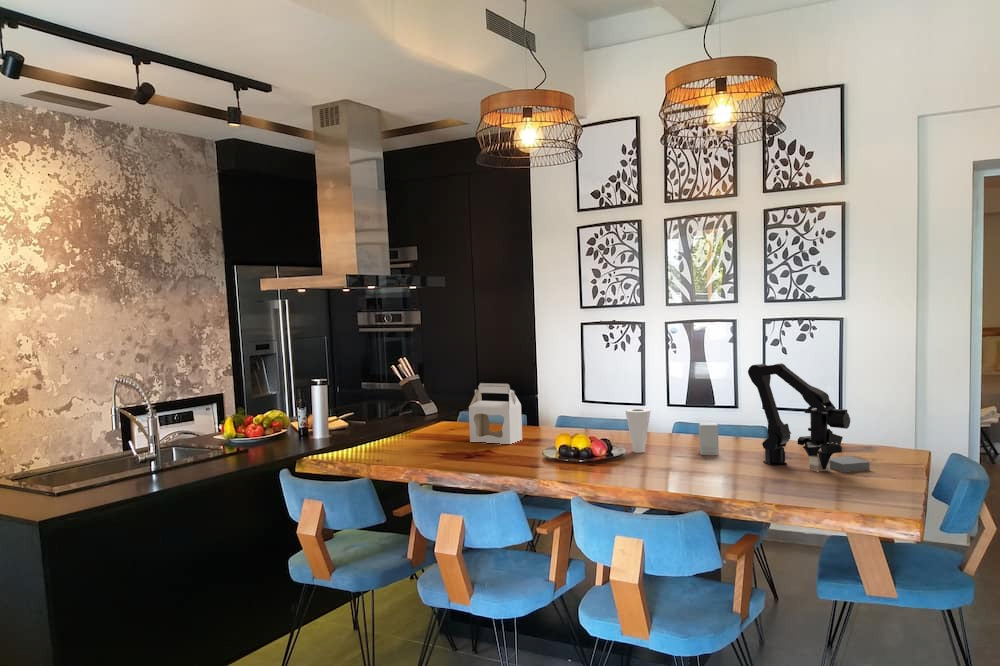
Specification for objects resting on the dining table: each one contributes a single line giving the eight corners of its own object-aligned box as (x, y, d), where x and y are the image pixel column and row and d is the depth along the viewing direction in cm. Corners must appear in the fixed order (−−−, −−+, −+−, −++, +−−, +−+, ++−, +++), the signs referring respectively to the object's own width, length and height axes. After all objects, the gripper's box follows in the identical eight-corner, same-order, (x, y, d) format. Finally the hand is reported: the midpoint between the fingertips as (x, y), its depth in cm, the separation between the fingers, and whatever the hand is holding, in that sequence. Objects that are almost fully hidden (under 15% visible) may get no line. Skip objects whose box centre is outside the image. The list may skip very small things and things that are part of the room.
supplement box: (719, 455, 292) (718, 425, 291) (700, 455, 293) (699, 425, 293) (717, 451, 299) (716, 422, 298) (699, 451, 300) (698, 422, 300)
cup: (652, 454, 298) (651, 412, 298) (626, 454, 300) (625, 412, 299) (650, 449, 309) (649, 408, 308) (626, 449, 310) (625, 408, 310)
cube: (817, 472, 258) (817, 458, 258) (809, 469, 263) (809, 456, 263) (830, 471, 259) (829, 457, 259) (821, 468, 264) (821, 455, 264)
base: (842, 472, 256) (842, 464, 256) (823, 465, 267) (823, 458, 267) (869, 470, 258) (869, 462, 258) (849, 463, 269) (849, 456, 269)
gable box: (469, 442, 338) (467, 384, 337) (482, 437, 350) (480, 381, 349) (510, 445, 328) (508, 385, 327) (522, 440, 340) (521, 382, 339)
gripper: (855, 428, 253) (856, 471, 253) (822, 420, 271) (823, 460, 271) (827, 430, 251) (828, 473, 251) (796, 422, 269) (797, 462, 270)
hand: (819, 467), depth 261 cm, fingers closed on cube, 5 cm apart
